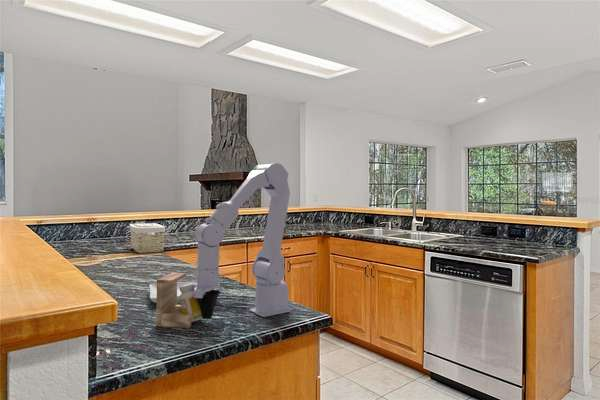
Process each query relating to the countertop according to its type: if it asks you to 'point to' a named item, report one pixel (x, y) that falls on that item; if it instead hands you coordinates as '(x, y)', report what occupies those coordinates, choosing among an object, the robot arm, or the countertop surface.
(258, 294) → the robot arm
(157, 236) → the storage basket
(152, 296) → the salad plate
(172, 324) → the socket station
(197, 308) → the supplement bottle
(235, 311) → the countertop surface
